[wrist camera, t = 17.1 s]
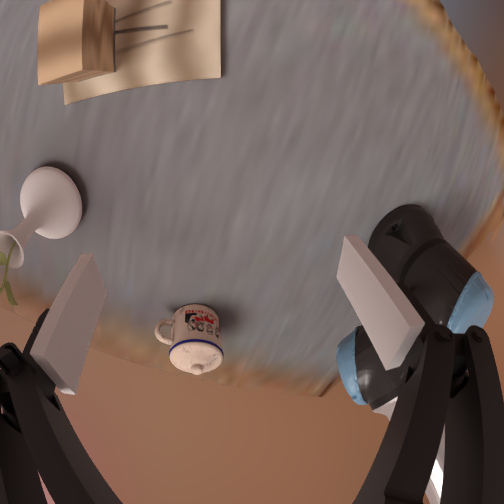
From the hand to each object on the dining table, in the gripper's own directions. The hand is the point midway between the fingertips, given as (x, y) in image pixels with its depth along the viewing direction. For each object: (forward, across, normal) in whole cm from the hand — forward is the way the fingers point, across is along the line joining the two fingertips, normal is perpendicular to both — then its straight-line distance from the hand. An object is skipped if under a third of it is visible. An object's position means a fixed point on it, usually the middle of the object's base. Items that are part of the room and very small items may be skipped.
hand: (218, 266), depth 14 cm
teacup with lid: (+25, +7, +29) cm, 39 cm away
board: (+24, +9, -17) cm, 31 cm away
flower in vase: (+24, +25, +4) cm, 35 cm away
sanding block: (+22, +14, -17) cm, 31 cm away
